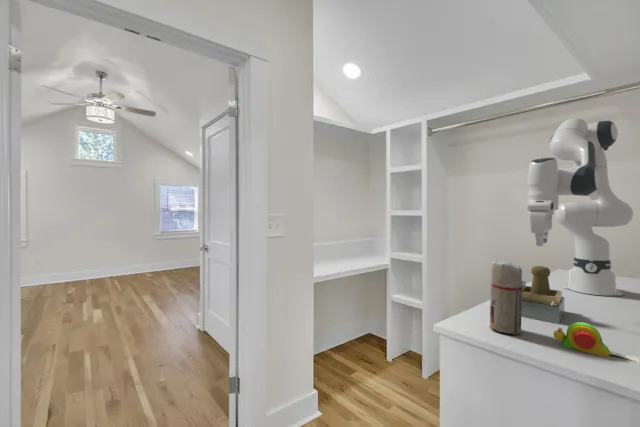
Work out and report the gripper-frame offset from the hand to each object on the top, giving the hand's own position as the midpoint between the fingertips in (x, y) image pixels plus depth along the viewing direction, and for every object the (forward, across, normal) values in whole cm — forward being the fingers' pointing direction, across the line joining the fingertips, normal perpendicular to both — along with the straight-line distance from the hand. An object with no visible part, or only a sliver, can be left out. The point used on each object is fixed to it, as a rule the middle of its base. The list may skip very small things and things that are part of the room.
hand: (541, 244), depth 106 cm
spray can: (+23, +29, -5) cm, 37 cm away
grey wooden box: (+23, +4, 0) cm, 23 cm away
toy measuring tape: (+23, +29, +16) cm, 40 cm away
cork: (+18, +4, 0) cm, 19 cm away
